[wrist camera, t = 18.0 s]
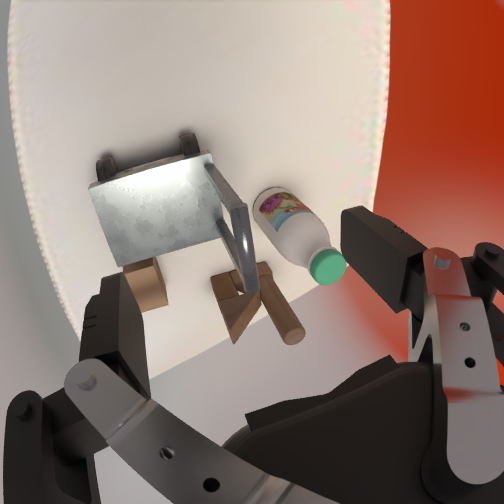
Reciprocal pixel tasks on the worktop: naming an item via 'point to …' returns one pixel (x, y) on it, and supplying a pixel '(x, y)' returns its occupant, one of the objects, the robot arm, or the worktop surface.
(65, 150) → the worktop surface
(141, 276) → the block
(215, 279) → the wooden block
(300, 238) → the milk bottle
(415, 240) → the robot arm
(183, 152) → the trolley
